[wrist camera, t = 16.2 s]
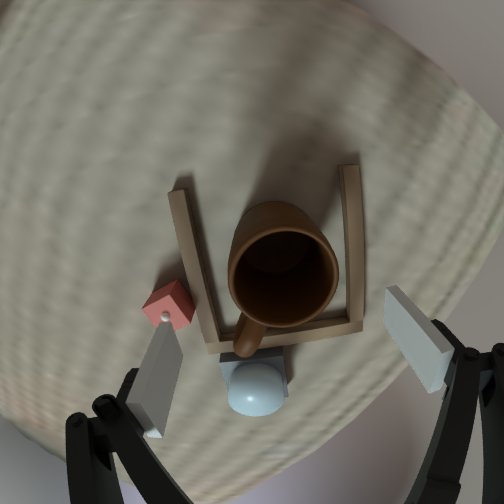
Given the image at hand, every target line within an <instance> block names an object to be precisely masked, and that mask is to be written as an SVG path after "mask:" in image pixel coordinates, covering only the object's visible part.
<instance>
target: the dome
mask: <svg viewBox="0 0 504 504" xmlns="http://www.w3.org/2000/svg"><path fill="white" fill-rule="evenodd" d="M228 402H229V405H230V406H231V407H232V408H233V409H234V410H235V411H237V412H238V413H241V414H243V415H247V416H264V415H268V414H271V413H273V412H275V411H276V410H278V409H279V408H280V407H281V406H282V404H283V402H284V393H283V384H282V377H281V374H280V373H279V371H278V370H277V369H275V368H274V367H272V366H270V365H267V364H263V363H249V364H245V365H242V366H240V367H238V368H237V369H235V370H234V371H233V372H232V374H231V376H230V381H229V393H228Z"/></svg>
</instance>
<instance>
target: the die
mask: <svg viewBox="0 0 504 504" xmlns="http://www.w3.org/2000/svg"><path fill="white" fill-rule="evenodd" d="M142 310H143V311H144V313H145V314H146V315H147V317H148V318H149V319H150V321H151V322H152V323H153V325H154V326H155V327H156V328H157V327H158V324H159V322H169V321H171V323H172V326H173V329H174V331H175V330H177V329H180V328H182V327H184V326H186V325H188V324H190V323H191V320H192V317H193V314H194V311H195V305H194V302H193V300H192V298H191V297H190V295H189V294H188V293H187V291H186V290H185V288H184V287H183V285H182V284H181V282H180V281H179V279H176V280H175V281H173V282H171V283H169V284H167V285H165V286H163V287H162V288H160V289H158V290H156V291H154V292H152V294H151V295H150V297H149V298H148V300H147V301H146V303H145V305H144V306H143V308H142Z"/></svg>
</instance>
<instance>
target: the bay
mask: <svg viewBox="0 0 504 504" xmlns="http://www.w3.org/2000/svg"><path fill="white" fill-rule="evenodd" d="M338 170H339V179H340V189H341V199H342V211H343V225H344V241H345V263H346V316H341V317H335V318H330V319H324V320H319V321H313V322H307V323H303V324H300V325H296V326H292V327H283V328H281V327H274V328H267V329H266V331H265V334H264V336H263V339H262V341H261V343H260V345H259V347H258V349H262V348H269V347H277V346H284V345H290V344H297V343H303V342H309V341H315V340H321V339H326V338H331V337H337V336H342V335H347V334H352V333H356V332H361V331H363V311H364V235H363V214H362V198H361V186H360V175H359V165H355V164H349V165H338ZM168 198H169V203H170V208H171V212H172V217H173V222H174V226H175V230H176V235H177V239H178V243H179V248H180V252H181V256H182V260H183V264H184V268H185V272H186V276H187V279H188V283H189V287H190V291H191V295H192V298H193V302H194V305H195V309H196V313H197V316H198V320H199V323H200V326H201V330H202V333H203V336H204V340H205V343H206V346H207V350H208V353H209V354H215V353H226V352H234V349H233V339H234V334H235V333H226V334H220V330H219V326H218V323H217V319H216V315H215V311H214V307H213V303H212V299H211V295H210V290H209V286H208V282H207V278H206V274H205V269H204V265H203V261H202V256H201V252H200V247H199V243H198V238H197V234H196V229H195V224H194V219H193V214H192V210H191V205H190V200H189V195H188V189H187V188H183V189H178V190H173V191H170V192H168Z"/></svg>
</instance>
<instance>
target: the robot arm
mask: <svg viewBox="0 0 504 504" xmlns="http://www.w3.org/2000/svg"><path fill="white" fill-rule="evenodd" d="M383 325H384V327H385V328H386V330H387V331H388V332H389V334H390V335H391V337H392V338H393V340H394V341H395V343H396V344H397V346H398V347H399V349H400V350H401V352H402V353H403V355H404V356H405V358H406V359H407V361H408V362H409V364H410V365H411V367H412V368H413V370H414V371H415V373H416V374H417V376H418V378H419V379H420V381H421V382H422V384H423V386H424V387H425V389H426V390H427V392H428V394H429V393H432V392H435V391H437V390H440V389H441V387H442V384H443V382H445V383H446V385H447V387H446V390H445V392H444V395H443V397H442V400H443V402H442V406H441V410H440V413H439V417H438V420H437V423H436V427H435V430H434V433H433V436H432V439H431V442H430V445H429V448H428V450H427V453H426V456H425V458H424V461H423V463H422V466H421V468H420V471H419V473H418V476H417V478H416V480H415V482H414V485H413V487H412V489H411V491H410V493H409V495H408V497H407V499H406V501H405V503H404V504H455V503H456V501H457V498H458V495H459V492H460V488H461V484H460V483H459V480H460V476H461V473H462V470H463V466H464V463H465V459H466V455H467V451H468V447H469V443H470V438H471V434H472V429H473V424H474V419H475V413H476V406H477V400H478V396H479V403H480V412H481V421H482V434H483V458H484V471H483V472H484V473H483V496H482V504H504V343H497V344H495V345H494V346H493V348H492V351H491V352H486V353H480V352H479V351H478V350H476V349H474V348H470V347H467V348H466V347H465V346H464V345H463V344H462V343H461V342H460V341H459V340H458V339H457V338H456V336H455V335H454V334H452V332H451V331H450V330H449V329H448V328H447V327H446V326H445V325H444V324H443V323H442V322H440V321H438V320H436V319H434V320H431V321H430V320H429V319H428V318H427V317H426V316H425V315H424V314H423V312H422V311H421V310H420V309H419V308H418V307H417V306H416V305H415V304H414V303H413V302H412V301H411V300H410V299H409V298H408V297H407V296H406V295H405V294H404V293H403V291H402V290H401V289H400V288H399V287H398V286H397V285H395V286H390V287H386V291H385V305H384V317H383ZM182 359H183V354H182V351H181V348H180V345H179V343H178V340H177V337H176V334H175V332H174V329H173V326H172V323H171V321H169V322H159V324H158V327H157V329H156V331H155V333H154V336H153V338H152V340H151V343H150V345H149V347H148V349H147V352H146V354H145V356H144V359H143V361H142V363H141V366H140V368H132V369H131V370H130V371H129V372H128V373H127V374H126V376H125V379H124V382H123V383H122V385H121V388H120V390H119V392H118V395H117V397H116V398H115V397H114V396H113V395H110V394H104V395H101V396H99V397H98V398H96V399H95V401H94V402H93V404H92V410H93V411H94V412H95V414H96V415H97V416H98V417H93V418H87V416H86V415H85V414H84V413H81V412H77V413H74V414H72V415H70V416H69V417H68V419H67V420H66V462H67V475H68V486H69V495H70V502H71V504H124V501H123V497H122V493H121V490H120V486H119V482H118V477H117V473H116V468H115V464H114V459H113V454H112V452H116V453H117V455H118V457H119V459H120V460H121V462H122V464H123V466H124V468H125V469H126V471H127V473H128V475H129V476H130V478H131V480H132V481H133V483H134V484H135V486H136V488H137V489H138V491H139V492H140V494H141V495H142V497H143V498H144V500H145V501H146V503H147V504H194V503H193V502H192V501H191V500H190V499H189V497H188V496H187V495H186V494H185V493H184V492H183V490H182V489H181V488H180V487H179V486H178V484H177V483H176V482H175V481H174V479H173V478H172V477H171V476H170V474H169V473H168V472H167V470H166V469H165V468H164V466H163V465H162V464H161V462H160V461H159V460H158V458H157V457H156V455H155V454H154V453H153V451H152V450H151V448H150V447H149V445H148V444H147V442H146V441H145V439H144V438H143V434H144V431H145V432H146V434H147V435H148V436H149V437H154V438H163V435H164V431H165V427H166V423H167V418H168V414H169V410H170V406H171V402H172V398H173V394H174V390H175V386H176V382H177V378H178V375H179V371H180V367H181V363H182Z"/></svg>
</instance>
